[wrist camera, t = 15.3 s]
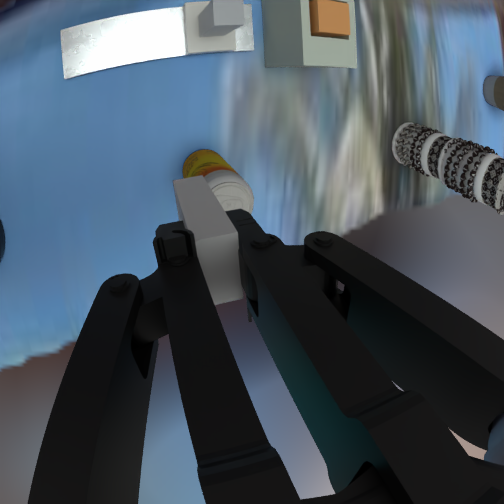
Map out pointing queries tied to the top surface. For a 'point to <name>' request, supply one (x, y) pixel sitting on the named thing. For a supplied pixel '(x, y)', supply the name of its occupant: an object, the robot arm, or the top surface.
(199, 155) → the beer can
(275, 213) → the top surface
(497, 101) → the coffee cup
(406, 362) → the robot arm
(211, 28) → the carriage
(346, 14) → the button
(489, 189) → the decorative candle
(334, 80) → the top surface
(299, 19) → the white block
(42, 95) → the top surface
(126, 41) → the rail
